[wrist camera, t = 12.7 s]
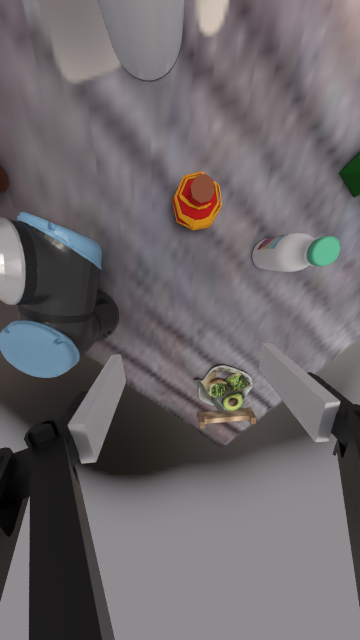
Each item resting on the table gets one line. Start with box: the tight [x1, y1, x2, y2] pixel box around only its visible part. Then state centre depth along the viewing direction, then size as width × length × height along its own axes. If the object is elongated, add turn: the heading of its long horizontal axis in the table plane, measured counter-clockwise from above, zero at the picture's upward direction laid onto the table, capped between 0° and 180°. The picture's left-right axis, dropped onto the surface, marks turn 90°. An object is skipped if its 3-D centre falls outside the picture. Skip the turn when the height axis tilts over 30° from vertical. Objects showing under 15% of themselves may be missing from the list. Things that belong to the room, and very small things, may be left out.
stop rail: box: [198, 407, 256, 429], centre depth 63 cm, size 19×3×4 cm, turn 94°
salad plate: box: [194, 365, 253, 413], centre depth 59 cm, size 19×18×5 cm
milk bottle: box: [252, 233, 340, 272], centre depth 38 cm, size 8×8×20 cm
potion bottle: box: [172, 171, 222, 230], centre depth 36 cm, size 10×10×15 cm
